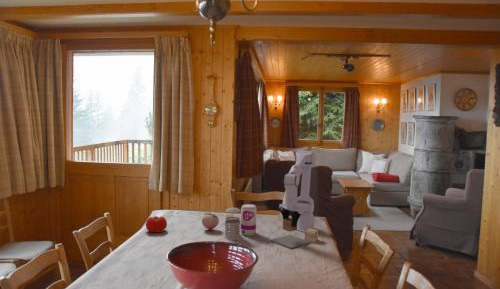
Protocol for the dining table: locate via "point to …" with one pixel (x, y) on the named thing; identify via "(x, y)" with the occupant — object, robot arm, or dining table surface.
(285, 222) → the walnut cube
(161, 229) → the tomato
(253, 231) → the supplement can
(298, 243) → the slate trivet
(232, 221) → the french press
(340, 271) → the dining table surface
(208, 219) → the decorative fruit
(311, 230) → the maple cube
